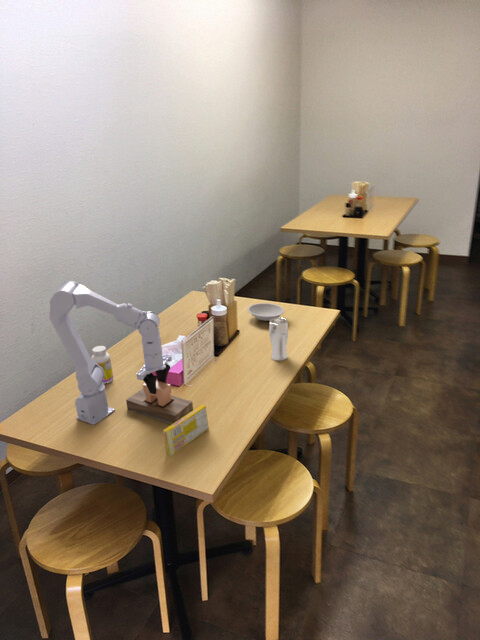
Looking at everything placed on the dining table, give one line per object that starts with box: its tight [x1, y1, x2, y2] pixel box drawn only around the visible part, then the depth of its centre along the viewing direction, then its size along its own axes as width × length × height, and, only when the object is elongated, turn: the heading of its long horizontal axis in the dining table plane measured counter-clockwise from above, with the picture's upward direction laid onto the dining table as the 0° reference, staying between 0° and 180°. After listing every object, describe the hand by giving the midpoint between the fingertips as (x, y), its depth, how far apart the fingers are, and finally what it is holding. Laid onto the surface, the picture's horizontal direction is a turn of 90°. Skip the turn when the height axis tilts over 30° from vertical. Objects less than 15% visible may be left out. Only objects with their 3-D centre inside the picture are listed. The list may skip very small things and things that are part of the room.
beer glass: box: [268, 317, 289, 362], centre depth 201 cm, size 7×7×15 cm
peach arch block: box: [142, 380, 172, 406], centre depth 171 cm, size 4×8×6 cm, turn 58°
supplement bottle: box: [90, 345, 114, 385], centre depth 192 cm, size 7×7×13 cm
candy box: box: [162, 404, 210, 457], centre depth 156 cm, size 16×2×8 cm, turn 141°
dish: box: [247, 302, 285, 322], centre depth 236 cm, size 18×14×5 cm
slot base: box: [125, 388, 194, 425], centre depth 173 cm, size 9×20×4 cm, turn 58°
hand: (157, 389), depth 171 cm, fingers closed on peach arch block, 4 cm apart
